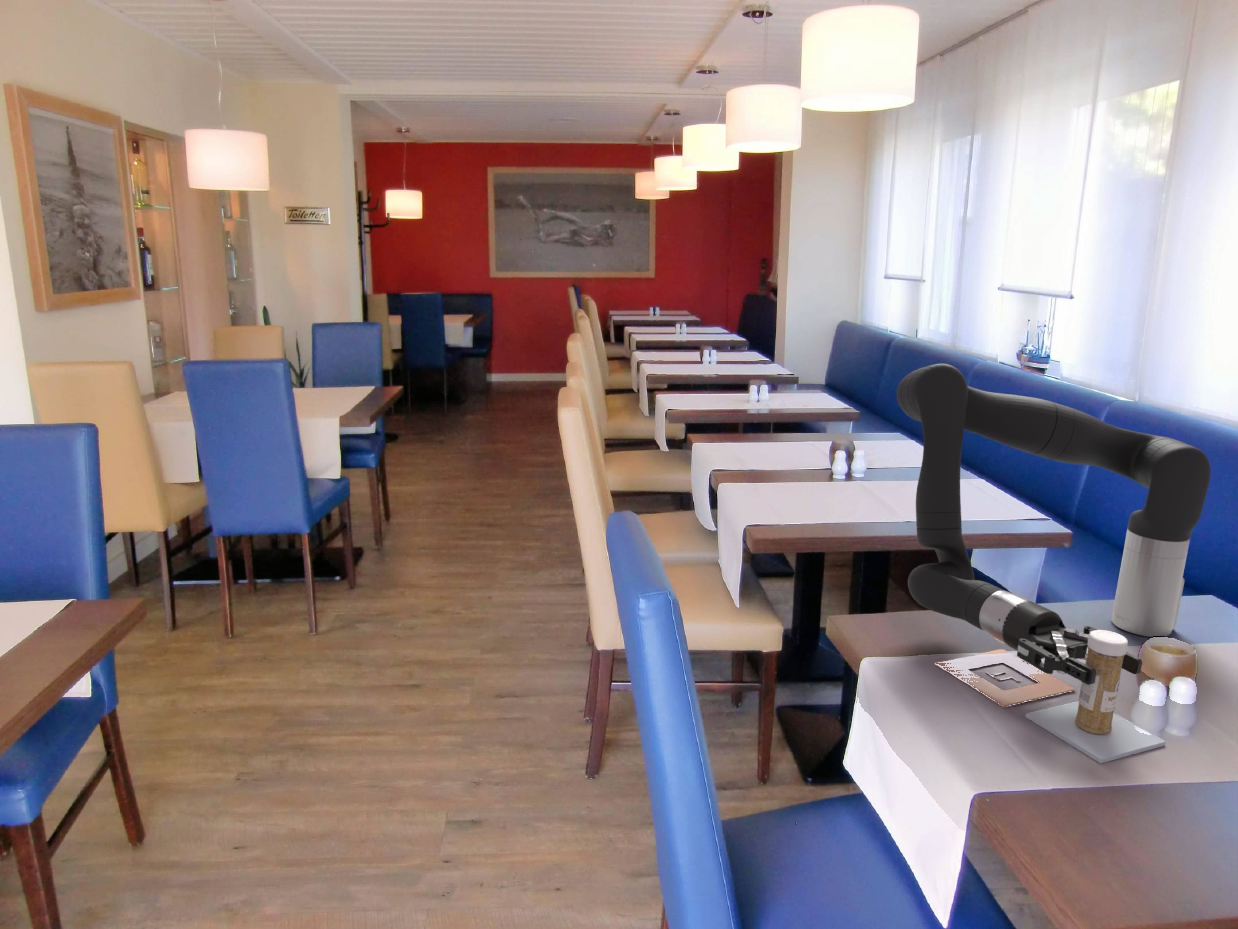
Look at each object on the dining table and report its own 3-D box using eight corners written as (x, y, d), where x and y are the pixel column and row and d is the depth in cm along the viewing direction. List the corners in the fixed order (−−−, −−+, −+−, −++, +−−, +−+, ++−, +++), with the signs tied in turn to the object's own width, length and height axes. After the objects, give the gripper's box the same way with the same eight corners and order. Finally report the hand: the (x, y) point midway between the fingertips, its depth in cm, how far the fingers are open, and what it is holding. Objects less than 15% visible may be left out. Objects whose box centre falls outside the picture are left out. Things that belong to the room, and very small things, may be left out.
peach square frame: (1002, 651, 144) (1002, 648, 143) (1075, 691, 131) (1075, 689, 131) (934, 664, 138) (934, 662, 138) (1003, 708, 126) (1004, 705, 126)
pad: (1087, 702, 128) (1088, 698, 128) (1165, 745, 117) (1165, 741, 117) (1025, 717, 123) (1026, 713, 123) (1100, 763, 113) (1101, 759, 113)
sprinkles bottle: (1114, 738, 118) (1132, 645, 114) (1076, 732, 119) (1093, 640, 116) (1107, 721, 122) (1124, 631, 118) (1071, 715, 123) (1086, 626, 120)
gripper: (986, 606, 127) (1082, 655, 113) (1058, 594, 133) (1159, 638, 118) (979, 654, 129) (1073, 708, 115) (1051, 639, 135) (1149, 689, 120)
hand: (1117, 672), depth 116 cm, fingers open, 8 cm apart
